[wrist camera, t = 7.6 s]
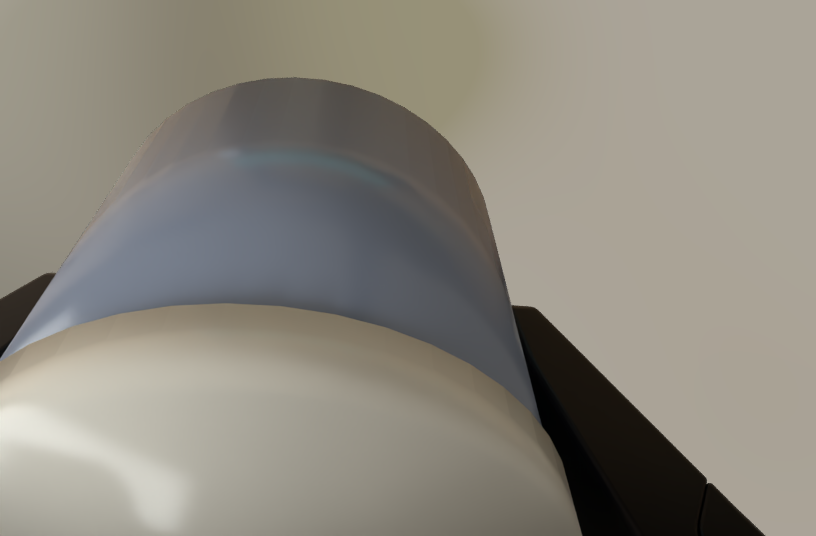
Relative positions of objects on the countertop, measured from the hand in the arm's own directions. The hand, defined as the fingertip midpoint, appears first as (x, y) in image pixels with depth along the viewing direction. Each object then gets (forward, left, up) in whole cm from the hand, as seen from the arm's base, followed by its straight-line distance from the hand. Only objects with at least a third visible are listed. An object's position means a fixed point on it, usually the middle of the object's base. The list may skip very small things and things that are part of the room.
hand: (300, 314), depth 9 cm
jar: (0, 0, -1) cm, 1 cm away
